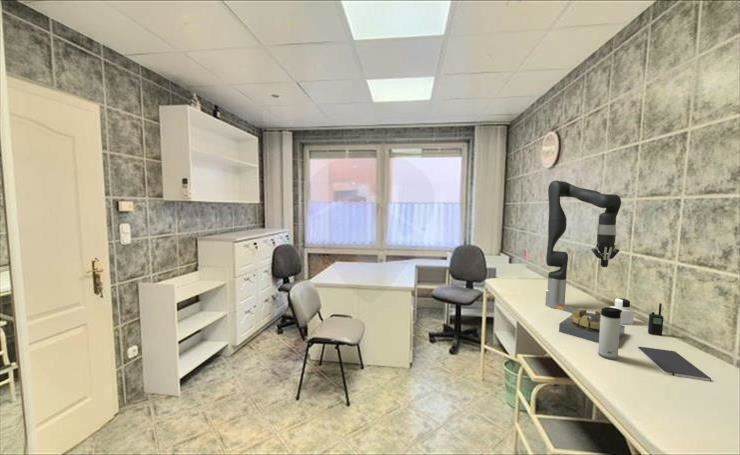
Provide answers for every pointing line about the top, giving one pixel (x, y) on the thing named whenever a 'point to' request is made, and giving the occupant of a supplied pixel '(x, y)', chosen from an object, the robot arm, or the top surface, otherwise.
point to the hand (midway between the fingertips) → (604, 266)
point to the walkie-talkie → (656, 323)
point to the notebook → (673, 363)
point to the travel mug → (609, 333)
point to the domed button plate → (584, 328)
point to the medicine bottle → (624, 310)
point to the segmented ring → (581, 316)
